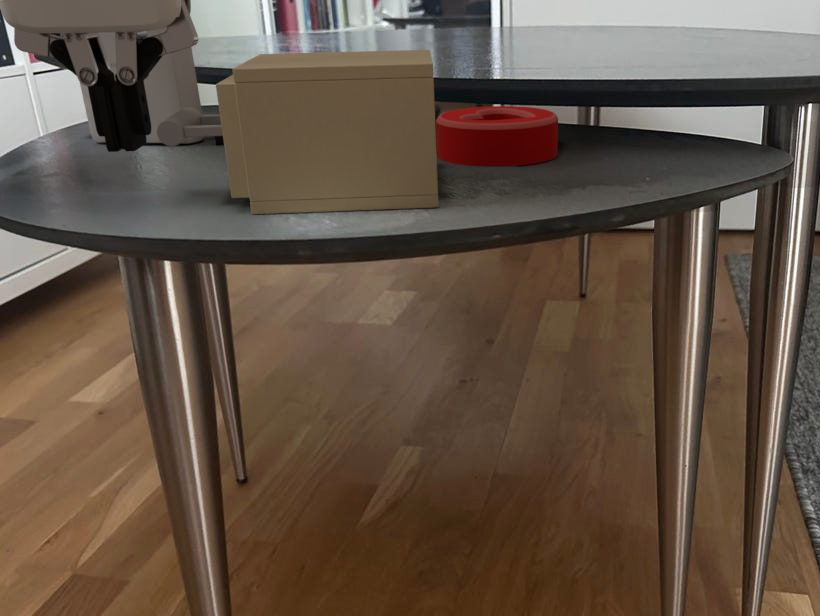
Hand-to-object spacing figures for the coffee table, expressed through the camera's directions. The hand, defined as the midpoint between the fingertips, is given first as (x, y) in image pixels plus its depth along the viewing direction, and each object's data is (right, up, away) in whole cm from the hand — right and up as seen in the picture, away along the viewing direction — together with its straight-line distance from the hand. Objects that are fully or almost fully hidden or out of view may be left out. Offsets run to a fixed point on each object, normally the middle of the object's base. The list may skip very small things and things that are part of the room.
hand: (127, 147), depth 55 cm
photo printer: (-7, +6, +22) cm, 23 cm away
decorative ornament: (+24, +3, +13) cm, 28 cm away
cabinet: (+14, -3, +2) cm, 15 cm away
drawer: (+10, -2, +2) cm, 11 cm away
